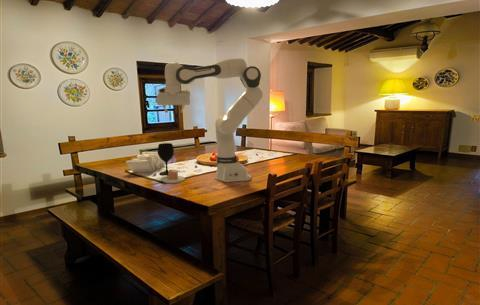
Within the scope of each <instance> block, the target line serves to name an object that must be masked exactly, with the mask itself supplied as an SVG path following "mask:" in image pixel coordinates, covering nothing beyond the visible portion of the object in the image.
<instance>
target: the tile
mask: <svg viewBox="0 0 480 305" xmlns="http://www.w3.org/2000/svg"><path fill="white" fill-rule="evenodd" d="M162 181H163V182H162ZM184 181H185V176H183V175H178V178H177V180H168V176H164V177H162V178H161V182H162V183H166V184H176V183H181V182H184Z"/></svg>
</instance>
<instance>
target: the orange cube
mask: <svg viewBox="0 0 480 305" xmlns="http://www.w3.org/2000/svg"><path fill="white" fill-rule="evenodd" d="M178 176H179V171H178V169H168V175H167V177H168V180H177V178H178Z"/></svg>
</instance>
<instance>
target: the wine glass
mask: <svg viewBox="0 0 480 305" xmlns="http://www.w3.org/2000/svg"><path fill="white" fill-rule="evenodd" d="M174 151H175V150H174V145H173V143H167V142H164V143H162V142H161V143H159V144H158V146H157V152H158V155H159V157H160V158H161V159H162V160H163V161H164V164H165V170H164V171H161V172H159V173H158V174H160V176H163V175H167V176H168V171H169V169H168V163H169V161H170V160H172V158H173V157H174V154H175V153H174Z"/></svg>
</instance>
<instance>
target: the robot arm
mask: <svg viewBox="0 0 480 305" xmlns="http://www.w3.org/2000/svg"><path fill="white" fill-rule="evenodd" d="M261 73H262V72H261V71H260V69H259V68H258V67H256V66H252V65H250V66H248V65H247V62H246V61H245V59H244V58H228V59H223V60H220V61H216V62H214V63H212V64H209V65H204V66H198V67H189V66H186V65H181V63H178V62H177V61H172V62H169V63H166V65H165V67H164V79H165V87H161V88H158V89H157V92H158V93H157V95H156V104H157V106H162V108H163V110H164V113H169V111H168V109H166V107H167V106H181V109H179V113H183V112H184V109H185V107H186V106H188V105H190V104H191V99H190V98H191V92H190V90H188V89H181V84H182V85H190V84H193V83H194V82H195V80H197V79H204V78H209V77H210V78H211V77H212V78H217V79H230V78H239V79H240V81H241V83H242V85H243V86H244V88H245V90H244V92H243V93H242V94H241V95H240V96H239V97H238V98H237V99H236V100H235V102H233V104H232V105H231V106H230V107H229V109H228V110H227V112H226V113H224V115H223V114H222V115H220V116H218V117H217V118H216V119H215V120H216V121H215V123H214V124H215V125H214V126H215V135H216V136H215V137H216V152H217V153H216V154H217V155H216V173H215V176H214V179H215V180H217V181H222V182H225V183H229V182H245V181H250V180H251V179H252V176H251V175H250V173H248V169H247V167H246V166H245V165H243V164H242V163H241V162H239V161H240V158H239V156H237V155H236V144H235V143H236V142H235V136H234V133H235V132H236V130H237V129H238V128H239V127H240V126H241V124H242V123H243V121H244V119H245V118H247V116H248V115H249V114H250V113H251V112H252V111H253V110H254V109H255V108H256V106H258V105H259V103H260V101H261V100H262V98H263V96H264V94H263V91H262V89H261V88H260V87H259V85H260V81H261V78H262V74H261Z"/></svg>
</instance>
